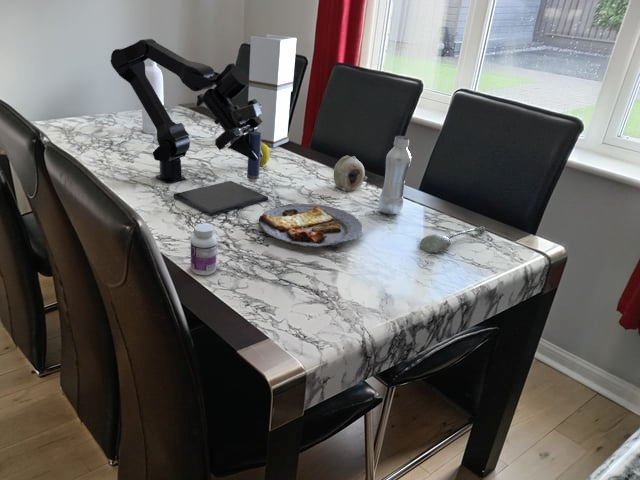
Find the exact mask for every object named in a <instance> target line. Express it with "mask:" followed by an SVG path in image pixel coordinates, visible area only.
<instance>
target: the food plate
mask: <svg viewBox="0 0 640 480" xmlns="http://www.w3.org/2000/svg"><path fill="white" fill-rule="evenodd" d="M257 221H258V226H259V227H260V229H261V230H262V231H263V232H264V233H265V234H266V235H267V236H269V237H270V238H272V239H275V240H278V241H282V242H285V243H287V244H289V245H294V246H295V245H296V246H298V247H300V246H301V247H304V248H305V247H307V246H310V248H318V247H328V246H330V247H333V246H335V245H338V244H340V243H346V242H347V241H350V240H351V241H357V240H358V239H359V238H360V237H361V236H362V235H363V224H362V222H361V221H360V220H359V218H357V217H356V216H355V215H353V214H351V213H350V212H348V211H345V210H344V209H341V208H337V207H333V206H330V205H325V204H319V203H300V202H296V203H288V204H284V205H280V206H277V207H273V208H269V209H267V210H265V211H264V212H263V213H262V214H261V215H260V216H259V218H258V220H257Z"/></svg>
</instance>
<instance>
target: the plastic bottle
mask: <svg viewBox="0 0 640 480" xmlns="http://www.w3.org/2000/svg"><path fill="white" fill-rule="evenodd" d="M409 146H410V137H408V136H404V135H395V137H394V141H393V147H392V148H391V149H390V150H389V151H388V153H387V154H386V157H385V170H384V171H385V172H384V180H383V185H382V190H381V193H380V196H379V198H378V203H377V204H378V209H379V211H380V212H381V213H383V214H387V215H396V214H399V213H400V212H401V211H402V209H403V206H404V191H405V184H406V180H407V175H408V171H409V169H410V166H411V163H412V156H411V153H410V150H409V149H408V147H409Z"/></svg>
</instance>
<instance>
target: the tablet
mask: <svg viewBox="0 0 640 480" xmlns="http://www.w3.org/2000/svg"><path fill="white" fill-rule="evenodd" d="M173 198H174V199H176V200H178V201H180V202H181V203H184V204H186V205H188V207H192V208H194V209H195V210H196V211H199V212H201V213H203V214H205V215H207V216H209V217H213V216H218V215H219V214H223V213H227V212H232V211H234V210H238V209H242V208H245V207H248V206H253V205H256V204H260V203H263V202H267V201H269V196H267V195H265V194H262V193H260V192H258V191H256V190H254V189H251V188H249V187H246V186H244V185H242V184H240V183H237V182H235V181H232V180H228V181H223V182H218V183H215V184H210V185H207V186H206V185H205V186H202V187H197V188H194V189H190V190H189V189H188V190H186V191H181V192H177V193H173Z"/></svg>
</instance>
